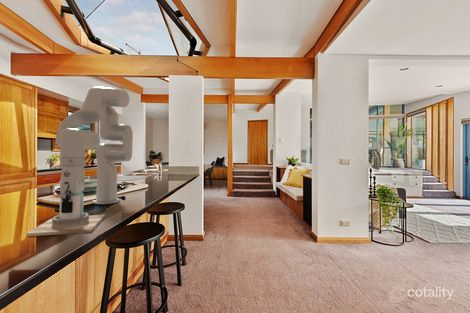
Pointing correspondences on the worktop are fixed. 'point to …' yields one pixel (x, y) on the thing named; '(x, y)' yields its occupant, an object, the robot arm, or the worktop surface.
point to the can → (74, 207)
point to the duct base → (67, 225)
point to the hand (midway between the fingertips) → (71, 209)
